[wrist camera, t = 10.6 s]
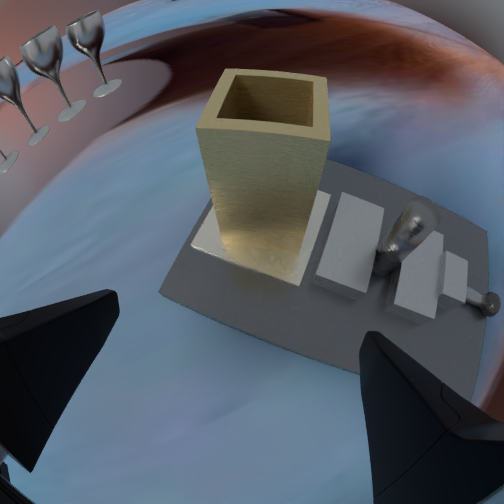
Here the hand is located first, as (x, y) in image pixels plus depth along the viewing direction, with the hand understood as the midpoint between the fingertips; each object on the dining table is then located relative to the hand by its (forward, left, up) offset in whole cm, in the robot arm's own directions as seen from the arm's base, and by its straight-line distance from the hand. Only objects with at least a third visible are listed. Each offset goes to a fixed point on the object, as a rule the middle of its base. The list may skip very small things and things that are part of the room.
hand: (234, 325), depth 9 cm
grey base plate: (+4, -9, -7) cm, 12 cm away
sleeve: (+8, -2, -6) cm, 10 cm away
